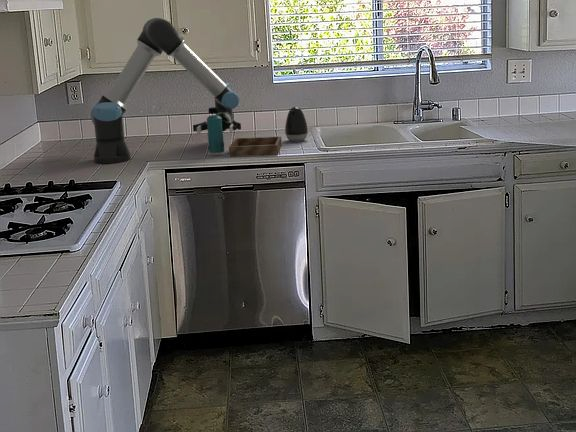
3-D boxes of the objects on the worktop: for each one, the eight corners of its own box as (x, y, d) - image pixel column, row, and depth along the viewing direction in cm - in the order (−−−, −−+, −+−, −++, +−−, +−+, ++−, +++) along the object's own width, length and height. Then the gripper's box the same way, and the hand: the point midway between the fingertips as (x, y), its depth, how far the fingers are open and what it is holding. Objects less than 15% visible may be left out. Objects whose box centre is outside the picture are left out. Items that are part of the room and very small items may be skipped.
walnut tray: (229, 156, 356) (229, 147, 355) (235, 147, 376) (235, 138, 374) (278, 154, 355) (277, 145, 354) (281, 145, 374) (281, 136, 373)
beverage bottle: (222, 156, 357) (219, 108, 352) (207, 156, 358) (203, 108, 353) (226, 153, 363) (223, 106, 358) (211, 153, 364) (207, 106, 359)
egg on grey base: (282, 143, 380) (280, 108, 376) (289, 138, 389) (287, 105, 385) (304, 143, 377) (303, 108, 373) (311, 138, 386) (309, 104, 382)
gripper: (250, 129, 376) (244, 138, 355) (193, 131, 377) (185, 140, 357) (249, 112, 374) (243, 120, 353) (192, 114, 375) (183, 122, 355)
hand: (214, 130), depth 355 cm, fingers open, 13 cm apart
